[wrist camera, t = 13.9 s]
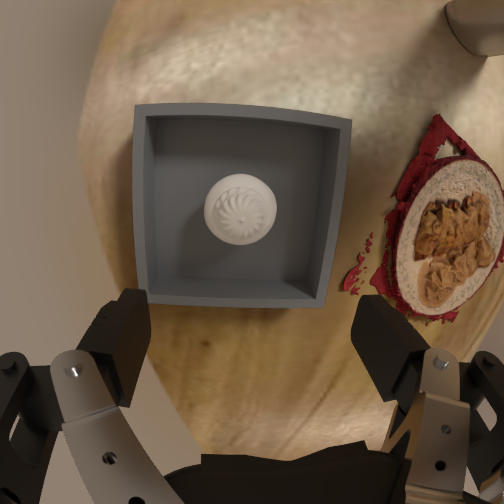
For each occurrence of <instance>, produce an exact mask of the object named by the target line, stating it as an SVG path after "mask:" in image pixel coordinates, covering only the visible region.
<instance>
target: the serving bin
mask: <svg viewBox="0 0 504 504" xmlns="http://www.w3.org/2000/svg"><path fill="white" fill-rule="evenodd" d="M351 128H352V120H351V119H346V118H341V117H336V116H330V115H324V114H319V113H312V112H306V111H299V110H291V109H283V108H274V107H265V106H253V105H239V104H219V103H161V104H142V105H135V111H134V126H133V150H132V204H133V228H134V244H135V257H136V268H137V278H138V287H139V289H144V290H146V293H147V299H148V303H154V304H169V305H187V306H209V307H239V308H324V303H325V298H326V294H327V289H328V284H329V280H330V275H331V269H332V264H333V259H334V254H335V248H336V243H337V237H338V231H339V225H340V218H341V212H342V205H343V198H344V191H345V184H346V176H347V168H348V159H349V149H350V139H351ZM234 174H247V175H251V176H254V177H256V178H258V179H259V180H261V181H262V182H264V183H265V184H266V185H267V186H268V187H269V188H270V189H271V191H272V192H273V194H274V196H275V199H276V204H277V212H276V217H275V221H274V223H273V225H272V227H271V229H270V230H269V231H268V233H267V234H266V235H265V236H264V237H262V238H261V239H260V240H258V241H256V242H254V243H251V244H247V245H234V244H230V243H227V242H224V241H222V240H221V239H219V238H218V237H216V236H215V235H214V234H213V233H212V232H211V231H210V229H209V228H208V226H207V224H206V221H205V218H204V205H205V201H206V197H207V195H208V193H209V191H210V189H211V188H212V187H213V186H214V185H215V184H216V183H217V182H218V181H219V180H221V179H223V178H225V177H227V176H230V175H234Z"/></svg>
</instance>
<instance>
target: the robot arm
mask: <svg viewBox="0 0 504 504" xmlns="http://www.w3.org/2000/svg"><path fill="white" fill-rule="evenodd" d="M446 15H447V19H448V22H449V24H450V26H451V28H452V30H453V32H454V34H455V35H456V37H457V38H458V40H459V41H460V42H461V44H462V45H463V46H464V47H465V48H466V49H467V50H469V51H470V52H471V53H473V54H475V55H477V56H484V55H487V56H488V57H491V56H499V55H504V0H453V1H450V2H449V3H448V4H447V6H446ZM150 338H151V322H150V315H149V307H148V299H147V293H146V290H144V289H130V288H125V289H124V290H123V292H122V294H121V295H120V297H119V299H118V300H117V301H110V302H109V303H107V304H106V305H104V306H103V307H102V308H101V309H100V311H99V312H98V314H97V315H96V318H94V320H93V322H92V323H91V325H90V326H89V328H88V330H87V331H86V333H85V335H84V336H83V338H82V339H81V341H80V343H79V345H78V346H77V348H76V349H75V350H69V351H65V352H63V353H61V354H59V355H58V356H57V357H56V358H55V359H54V360H53V361H52V363H51V365H48V366H30V365H29V363H28V361H27V359H26V357H25V356H24V355H23V354H21V353H19V352H9V353H6V354H3V355H2V356H0V504H39V501H40V496H41V492H42V488H43V484H44V479H45V475H46V472H47V468H48V465H49V461H50V457H51V454H52V451H53V447H54V444H55V441H56V438H57V435H58V432H59V431H63V432H64V436H65V438H66V441H67V444H68V446H69V449H70V451H71V454H72V457H73V459H74V461H75V464H76V466H77V468H78V471H79V473H80V475H81V477H82V479H83V482H84V484H85V485H86V488H87V490H88V492H89V494H90V496H91V498H92V500H93V501H94V503H95V504H504V365H503V364H502V362H501V361H500V360H499V359H498V358H497V357H496V356H495V355H493V354H492V353H489V352H487V351H479V352H477V353H476V354H475V355H474V357H473V359H472V361H471V363H464V362H458V360H457V358H456V357H455V356H454V355H453V354H452V353H450V352H449V351H447V350H445V349H442V348H431V347H430V346H429V345H428V344H427V342H426V341H425V340H424V339H423V337H422V336H421V335H420V334H419V333H418V332H417V330H416V329H414V328H413V326H412V324H411V323H410V322H408V320H407V319H406V317H405V316H404V315H403V314H402V313H401V312H399V311H398V310H396V309H395V308H393V307H392V306H391V305H390V304H389V303H388V302H387V301H386V300H385V299H384V297H383V296H382V295H363V296H361V298H360V300H359V303H358V307H357V310H356V314H355V317H354V321H353V324H352V327H351V341H352V343H353V345H354V347H355V349H356V351H357V353H358V354H359V356H360V358H361V360H362V362H363V364H364V365H365V367H366V369H367V371H368V373H369V375H370V377H371V378H372V380H373V382H374V384H375V386H376V388H377V390H378V392H379V394H380V396H381V398H382V399H383V401H384V402H387V401H391V400H397V402H398V403H397V405H396V406H395V408H394V411H393V415H392V418H391V421H390V425H389V428H388V431H387V434H386V437H385V440H384V443H383V446H382V448H381V450H380V451H374V450H368V449H367V446H366V444H365V441H359V442H354V443H349V444H344V445H339V446H333V447H328V448H325V449H323V450H320V451H318V452H315V453H312V454H310V455H307V456H304V457H301V458H298V459H295V460H292V461H282V460H274V459H267V458H261V457H255V456H249V455H218V454H201V464H198V465H192V466H188V467H184V468H181V469H179V470H176V471H173V472H171V473H169V474H167V475H165V476H164V477H163V476H162V474H161V473H160V472H159V470H158V469H157V467H156V466H155V465H154V463H153V462H152V460H151V459H150V457H149V456H148V454H147V453H146V451H145V450H144V449H143V447H142V445H141V444H140V442H139V441H138V439H137V437H136V436H135V434H134V433H133V431H132V429H131V428H130V426H129V424H128V422H127V421H126V419H125V417H124V416H123V414H122V412H121V410H120V409H119V407H118V406H121V407H128V408H129V407H130V404H131V400H132V397H133V394H134V390H135V387H136V383H137V380H138V377H139V374H140V370H141V367H142V364H143V361H144V358H145V355H146V352H147V349H148V346H149V343H150ZM484 398H486V399H487V401H488V402H489V404H490V405H491V407H492V408H493V410H494V411H495V413H496V415H497V422H496V425H495V426H494V428H493V429H492V430H491V431H489V429H488V428H487V426H486V424H485V423H484V421H483V419H482V418H481V416H480V415H479V413H478V411H477V410H476V409H477V408H478V406H479V405H480V404H481V402H482V401H483V399H484ZM17 415H18V416H19V417H20V419H19V421H18V423H17V425H16V428H15V430H14V433H13V435H12V437H11V440H10V441H9V435H10V431H11V428H12V426H13V424H14V422H15V419H16V417H17ZM466 467H468V469H469V471H470V473H471V475H472V478H473V480H474V482H475V484H476V487H477V489H478V491H479V496H478V497H476V496H474V495H472V494H470V493H467V492H465V491H463V488H464V482H465V475H466Z"/></svg>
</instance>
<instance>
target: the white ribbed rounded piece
mask: <svg viewBox="0 0 504 504" xmlns="http://www.w3.org/2000/svg"><path fill="white" fill-rule="evenodd" d="M276 212H277V204H276V199H275V196H274V194H273V192H272V191H271V189H270V188H269V187H268V186H267V185H266V184H265V183H264V182H262V181H261V180H259V179H258V178H256V177H254V176H251V175H247V174H234V175H230V176H227V177H225V178H223V179H221V180H219V181H218V182H217V183H216V184H215V185H214V186H213V187H212V188H211V189H210V191H209V193H208V195H207V197H206V201H205V205H204V218H205V221H206V224H207V226H208V228H209V229H210V231H211V232H212V233H213V234H214V235H215V236H216V237H218V238H219V239H221V240H222V241H224V242H227V243H230V244H234V245H247V244H251V243H254V242H256V241H258V240H260V239H261V238H262V237H264V236H265V235H266V234H267V233H268V231H269V230H270V229H271V227H272V225H273V223H274V221H275V217H276Z"/></svg>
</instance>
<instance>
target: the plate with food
mask: <svg viewBox="0 0 504 504" xmlns="http://www.w3.org/2000/svg"><path fill="white" fill-rule="evenodd" d="M428 129H429V131H428V133H427V134H426V135H425V137H424V138H423V140H422V143H421V145H420V148H419V152H420V153H419V155H418V156H417V157H416V158H415V159H414V160H412V161H411V163H410V165H409V168H408V169H407V171H406V172H405V174H404V177H403V179H402V181H401V182H400V185H399V187H398V190H397V192H396V193H395V192H394V193H393V195H392V196H391V197H393V196H394V195H395V194H396V197H397V199H398V200H399V202H400V203H399V204H398V205H396V208H397V209H396V210H394V211H392V212H390V213H389V214H388V215H387V216H386V217H385V220H388V227H389V228H388V231H387V232H386V239H387V237H388V239H389V241H388V243H387V245H386V246H385V247H386V248H388V246H390V245H391V250H392V253H393V254H392V265H391V268H390V269H391V272H392V275H391V277H392V278H393V281H392V284H393V286H392V289H391V287H390V284H389V281H388V280H387V278H388V277H389V276H388V271H387V269H386V268H387V267H386V266H388V265H387V263H388V255H389V252H388V249H386V250H385V254H384V256H383V261H384V263H382V264H381V267H378V268H377V270H376V272H375V274H374V275H373V276H372V278H371V280H370V285H372V286H374V287H376V289H377V291H378V293H379V295H382V294H386V295H387V296H389V298H390V297H393V299H394V300H396V301H397V304H398V303H399V304H400V305H399V304H398V305H397V304H396V309H397V310H399V312H401V313H402V314H403V315H404V314H406V311H407V310H410V311H412V313H413V315H412V316H413V317H416V316H420V315H423V316H425V317H428V318H429V319H432V322H433V321H435V320H436V319H437V320H439V319H440V318H441V319H443V320H442V321H441V322H442V324H444V323H445V319H450V320H451V323H452V322H453V321H454V320H455V318H456V316H457V314H458V313H459V311H458V312H454V311H452V310H454V309H455V310H457V309H458V307H460V306H461V305H463V303H465V302H466V300H467V299H468V300H469V299H470V298H471V297H472V296H473V295H474V294H475V293H476V292H477V291H478V290H479V289H480V288H481V287H482V285H483V284H484V282H485V281H486V280H487V277H489V276H490V274H491V272H492V271H493V269H494V268H498V266H497V263H498V261H500V262H501V263H503V262H504V260H503V258H502V257H503V256H504V190H503V191H502V188H501V184H500V181H499V179H498V177H497V176H496V174H495V173H494V172H493V170H492V168H491V167H490V166H489V165H488V164H487V163H486V162H485V161H484V160H481V159H480V158H479V157H478V155H477V154H476V153H475V152H474V151H473V149H472V148H471V147H470V146H469V145H468V144H467V142H466V141H464V140H463V139H462V138H461V137H460V136H458V135H457V134H456V133H455V132H454V130H453V129H452V128H451V127H450V126H449V125H448V124H447V123H446V122H445V121H444V120H443V118H442V117H441V116H440V114H439V115H438V114H436V115H435V116H433V122H432V123H431V124H430V126H429V127H428ZM446 138H447V139H448V140H449V141H450V142H451V143H452V144H456V145H457V146H458V148H459V150H460V151H462V150H463V149H464V150H465V155H464V156H450V157H445V158H440V159H436V160H434V158H435V154H436V153H437V152H438V151H439V149H438V148H437V146H440V145H441V144H442V145H445V141H446ZM385 223H386V221H385ZM372 237H373V236H372V233H371V235H370V238H371V239H372ZM367 242H369V243H370V244H365V245H366V248H365V249H366V252H367V253H369V252H370V249H369V248H368V247H369V246H371V245H372V243H371V242H370V240H369V239H368V241H367ZM362 253H364V252H362ZM364 254H365V253H364ZM358 259H359V262H360V264H359V265H358V266H357V267H355V268H354V269H352V271H350V273H349V274H348V276H347V277H346V280H345V282H344V290H345V291H349V288H350V287H351V286H352V285H353V283H355V282H357V281H358V280H359V278H357V279H356V280H355V281H353V279H354V278H355V277H356V276H355V275H357V276H358V275H359V273H361V271H362V270H359V267H360V265H361V264H362V262H363V261H364V260H365V257H361V256H360V254H359V257H358ZM383 264H385V265H384V266H383ZM365 268H367V267H364V269H365ZM382 268H383V269H382ZM385 269H386V270H385ZM365 273H366V272H365ZM352 275H353V277H352V278H351V276H352ZM350 278H351V279H350ZM363 283H364V281H363V282H362V283H361V284H363ZM355 286H356V285H355ZM355 286H354V287H353V288H352V289H351V292H352V293H353V294H356V293H357V292H356V291H357V290H359V289H360V288H355ZM358 294H359V293H357V295H358ZM393 299H392V300H393ZM400 301H401V302H400ZM403 306H404V307H405V308H404V307H403ZM406 308H407V310H406ZM451 311H452V312H451ZM444 313H445V314H444ZM460 314H461V313H460ZM439 315H442V316H441V317H440V316H439ZM404 316H405V315H404ZM409 316H410V314H409ZM437 316H438V317H437ZM422 324H423V323H422ZM427 325H428V323H426V326H427ZM437 331H438V330H437Z"/></svg>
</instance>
